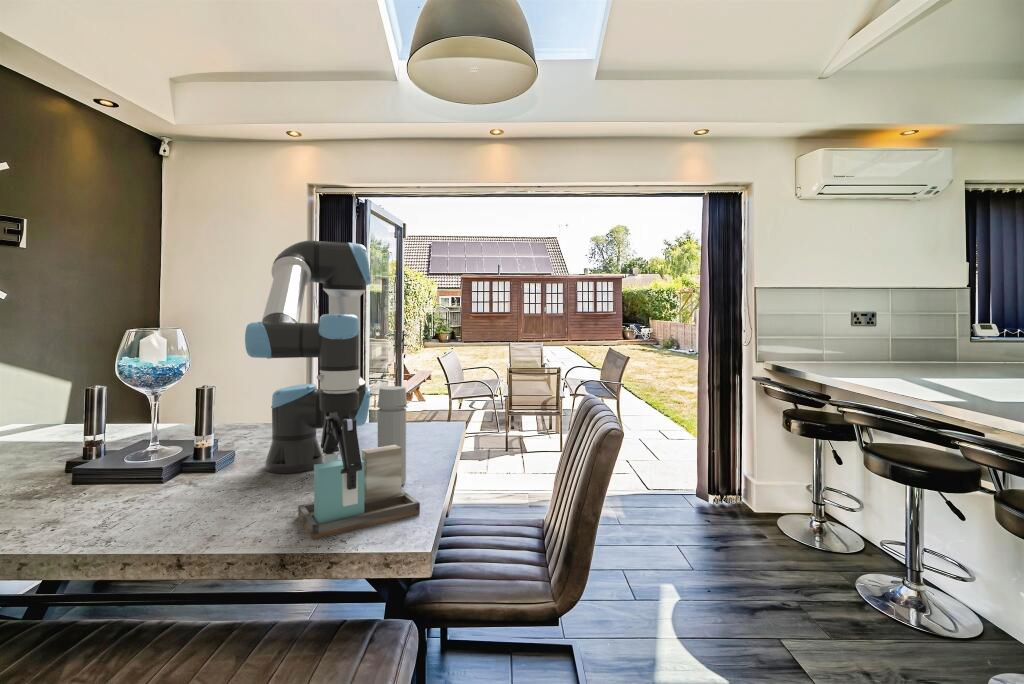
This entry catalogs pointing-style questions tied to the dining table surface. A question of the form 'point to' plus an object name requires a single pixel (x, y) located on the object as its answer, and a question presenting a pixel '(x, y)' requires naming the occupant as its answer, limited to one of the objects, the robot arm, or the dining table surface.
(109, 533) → the dining table surface
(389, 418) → the water bottle
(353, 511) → the teal door
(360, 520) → the track base
